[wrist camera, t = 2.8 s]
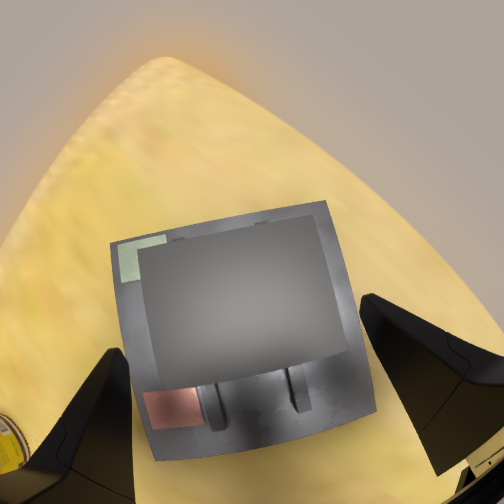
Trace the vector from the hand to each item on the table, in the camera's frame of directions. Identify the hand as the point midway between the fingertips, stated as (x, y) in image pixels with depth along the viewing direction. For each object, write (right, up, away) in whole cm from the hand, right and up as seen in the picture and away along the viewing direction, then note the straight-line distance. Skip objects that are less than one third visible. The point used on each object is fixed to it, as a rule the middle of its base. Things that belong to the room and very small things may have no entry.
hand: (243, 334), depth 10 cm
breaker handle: (0, -1, +6) cm, 6 cm away
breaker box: (-1, -1, +8) cm, 8 cm away
